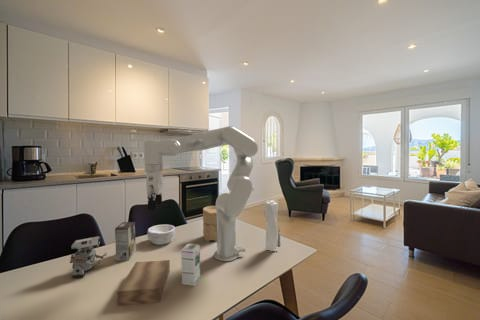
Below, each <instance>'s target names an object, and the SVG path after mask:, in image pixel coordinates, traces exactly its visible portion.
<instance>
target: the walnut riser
mask: <svg viewBox="0 0 480 320" xmlns="http://www.w3.org/2000/svg"><path fill="white" fill-rule="evenodd" d="M170 262H171V261H170V259H168V260H167V259H165V260H164V259H162V260H150V261H149V260H148V261H136V262H135V264H134V265H133V267H132V268H131V269H130V271H129V273H128V274H127V276H126V277H125V279H124V280H123V281H122V284H120V287H119V288H118V290H117V292H116V293H117V306H126V305H128V306H131V305H139V304H150V303H160V302H161V299H162V296H163V293H164V290H165V287H166V284H167V282H168V281H167V280H168V277H169V275H170V271H171V269H170V268H171V267H170V266H171V265H170Z"/></svg>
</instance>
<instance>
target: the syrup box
mask: <svg viewBox="0 0 480 320" xmlns="http://www.w3.org/2000/svg"><path fill="white" fill-rule="evenodd" d="M200 248H201V246H200V244H197V243H186V245H185V246H184V247H182V249H180V253H181V254H180V255H181V256H180V259H181V260H180V261H181V263H180V264H181V284H182V285H184V286H191V287H196V285H197V283H199V280H200V279H201V249H200Z"/></svg>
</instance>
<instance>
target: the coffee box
mask: <svg viewBox="0 0 480 320" xmlns="http://www.w3.org/2000/svg"><path fill="white" fill-rule="evenodd" d="M114 235H115V236H114V237H115V261H116V262H117V261H122V262H124V261H130V260H131V258H132V257H133V256H134V255H135V254H136V252H137V244H136V221H133V222H131V221H123V222H121V223H120V224H118V226H116V227H115V229H114Z"/></svg>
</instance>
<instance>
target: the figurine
mask: <svg viewBox="0 0 480 320" xmlns="http://www.w3.org/2000/svg"><path fill="white" fill-rule="evenodd" d="M100 243H101V237H100V236H98V235H97V236H94V237H93V236H92V237H88V238H83V239H76V240H74V241H73V243H72V244H71V250H73V249H76V250H77V251H76V252H74V253H72V254H71V255H70V261H69V263H70V264H72V267H71V269H72V275H71V276H72V277H71V278H72V279H78V278H79V279H82V278H84V277H85V276H86V275H85V271H89V270H91V269H93V267H96V265H97V264H99V265H100V264H101V260H103V259H104V257H105V256H108V254H107V252H105V253H104V254H103V255H100V254H96V253H97V251H96V249H95V248H98V247H99V246H100ZM95 259H99V260H98V261H97V262H95ZM100 259H101V260H100Z"/></svg>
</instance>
